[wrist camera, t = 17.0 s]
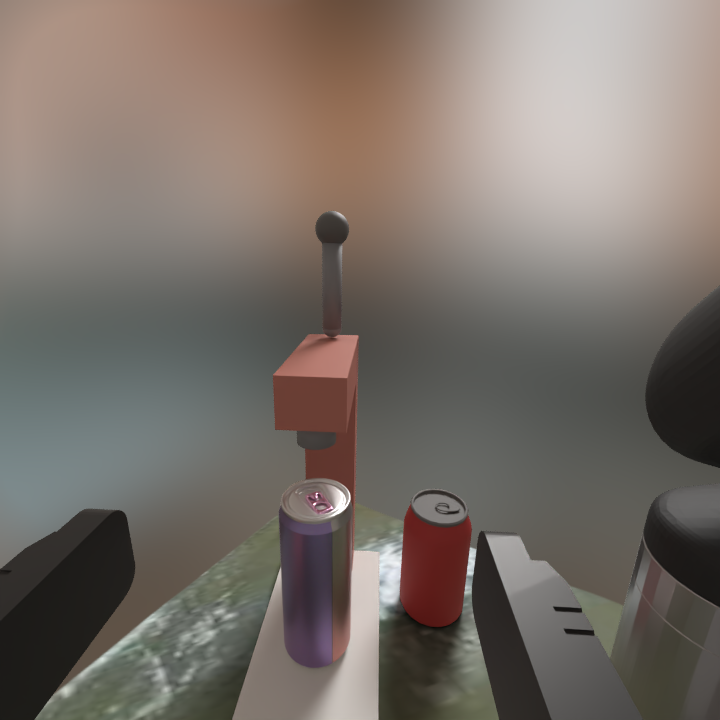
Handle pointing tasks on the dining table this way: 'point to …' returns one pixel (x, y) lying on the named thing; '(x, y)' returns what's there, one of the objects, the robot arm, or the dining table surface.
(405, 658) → the dining table surface
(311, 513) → the beverage can
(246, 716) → the bench press
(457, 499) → the beer can
